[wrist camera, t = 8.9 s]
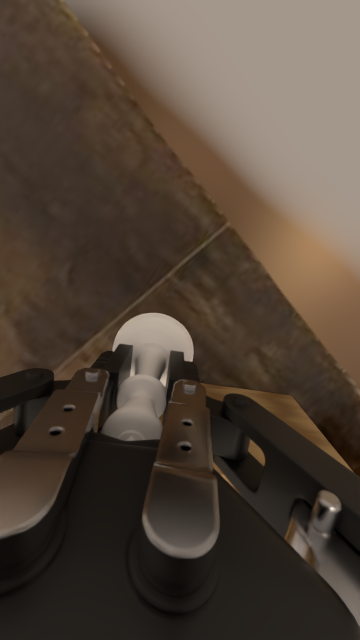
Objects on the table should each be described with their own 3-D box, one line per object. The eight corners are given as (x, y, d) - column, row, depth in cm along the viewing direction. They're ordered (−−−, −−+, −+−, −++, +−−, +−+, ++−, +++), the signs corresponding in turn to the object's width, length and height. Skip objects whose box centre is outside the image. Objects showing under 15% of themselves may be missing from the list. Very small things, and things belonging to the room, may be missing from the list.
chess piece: (209, 358, 16) (257, 506, 7) (147, 402, 17) (108, 595, 7) (160, 296, 15) (131, 360, 6) (96, 344, 16) (-27, 477, 6)
